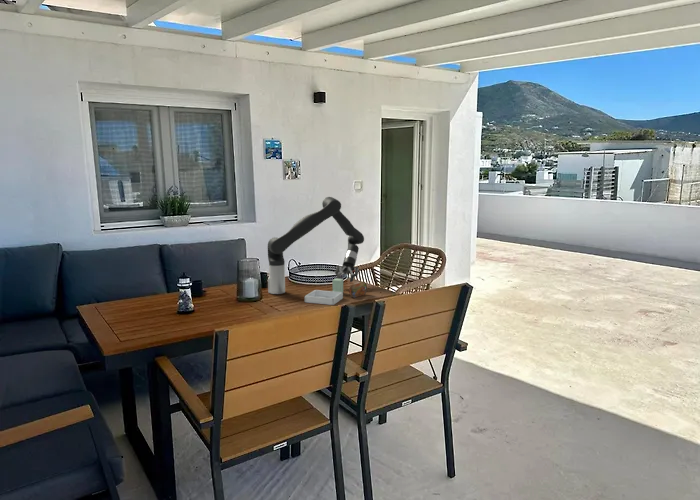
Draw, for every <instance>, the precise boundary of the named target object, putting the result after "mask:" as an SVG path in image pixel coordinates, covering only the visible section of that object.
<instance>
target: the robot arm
mask: <svg viewBox="0 0 700 500" xmlns="http://www.w3.org/2000/svg"><path fill="white" fill-rule="evenodd" d="M321 203H322V204H321V205H322V209H320V210H318V211H316V212H313V213H310V214H307V215H305V216H303V217H302V218H299V220H298V221H296V222H294V224H293V225H292V227H291V228H290V229H289V230H288V231H287V232H286V233H284V234H283V235H281V236H279V237H272V238H270V239H269V240H268V243H267V259H268V267H269V268H268V270H269V273H268V274H269V276H268V277H267V291H268V292H267V293H268V294H271V295H281V294H285V293H286V277H285V275H286V274H285V273H286V271H285V270H286V267H285V261H286V260H285V258H284V252H285V251H286V250H287V249H288V248H289V247H291V246H292V245H293V244H294V243H296V242H297V241H298V240H300V239H301V238H302V237H304V236H305V235H307V234H309V233H310V232H311V231H313V230H314V229H315V228H316V227H318V226H319V225H320V224H322V223H323V222H324V221H326V220H327V219H330V218H331V217H332V218H333V219H334V221H335V222H336V223H337V224H338V226H339V227H340V228H341V230H342V231H343V232H344V234H345V235H346V236H347V250H346V253H345V255H344V257H343V258H344V260H343V262H342V265H341V266H340V265H337V266H336V269H335V271H334V274H335V276H336V277H335V278H336V279H341V276H342V275H344V274H345V275H346V274H348V275H349V274H350V279H349V282H350V283H353V281H354V279H355V278H357V277H358V276H359V275H358V274H359V271H360V270H359V267H358V266H356V262H357V259H358V253H359V249H360V247H359V246H358V245H361V244H363V243H364V242H365V237H364V235H363V233H362V231H359V230H358V229H357V228H356V227H354V225H353V223H352V222H351V220H349V218H347V217H346V216H345V215H344V214H343V213H342V212H341V209H342V203H341V201H339V200H338V199H336V198H335V197H332V196H327V197H325V198H323V200H322V202H321ZM355 266H356V267H355ZM353 271H354V273H353Z"/></svg>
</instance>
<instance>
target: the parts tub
mask: <svg viewBox="0 0 700 500" xmlns="http://www.w3.org/2000/svg"><path fill="white" fill-rule="evenodd" d="M343 299H344V291H343V292H334V291H333V290H320V289H314V290H311V292H309V293H308V294H306V295H304V303H310V304H317V305H318V304H321V305H330V306H334V305H335V304H337V303H338V302H340V301H341V300H343Z"/></svg>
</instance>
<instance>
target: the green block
mask: <svg viewBox="0 0 700 500" xmlns="http://www.w3.org/2000/svg"><path fill="white" fill-rule="evenodd" d="M336 278H337V277H335V278H334V279H332V291H334V292H343V293H344V279H343V278H340V279H336Z"/></svg>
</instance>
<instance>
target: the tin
mask: <svg viewBox="0 0 700 500" xmlns="http://www.w3.org/2000/svg"><path fill="white" fill-rule="evenodd" d="M367 292H368V285H367V283H366V282H365V281H358V282H355V283H352V284H350V286H349V288H348V294H349V297H350V298H354V299H355V298H357V297H361V296H365V295H366V294H367Z"/></svg>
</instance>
